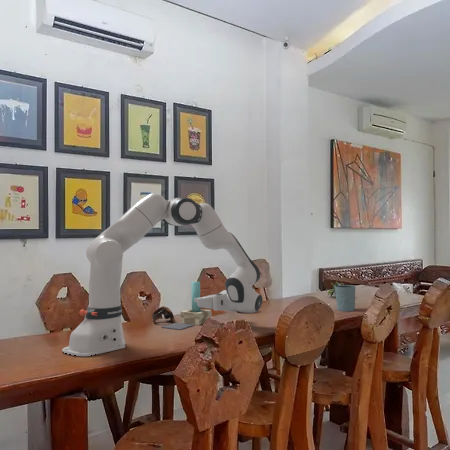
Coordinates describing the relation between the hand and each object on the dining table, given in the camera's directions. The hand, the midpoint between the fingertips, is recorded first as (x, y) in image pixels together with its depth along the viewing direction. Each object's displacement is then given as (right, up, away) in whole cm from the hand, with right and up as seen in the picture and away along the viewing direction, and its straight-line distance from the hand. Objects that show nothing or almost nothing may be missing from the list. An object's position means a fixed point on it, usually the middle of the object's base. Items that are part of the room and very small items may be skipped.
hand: (201, 298), depth 202 cm
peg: (-2, -11, +2) cm, 11 cm away
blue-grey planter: (+71, -10, +25) cm, 76 cm away
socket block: (-2, -11, +2) cm, 11 cm away
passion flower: (+78, -11, +66) cm, 103 cm away
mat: (-10, -11, -8) cm, 17 cm away
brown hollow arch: (-17, -11, +3) cm, 21 cm away
